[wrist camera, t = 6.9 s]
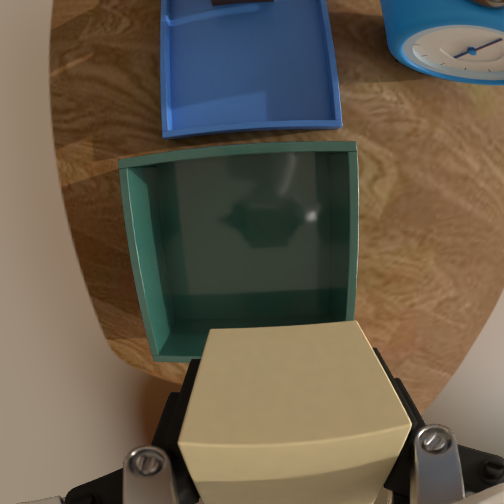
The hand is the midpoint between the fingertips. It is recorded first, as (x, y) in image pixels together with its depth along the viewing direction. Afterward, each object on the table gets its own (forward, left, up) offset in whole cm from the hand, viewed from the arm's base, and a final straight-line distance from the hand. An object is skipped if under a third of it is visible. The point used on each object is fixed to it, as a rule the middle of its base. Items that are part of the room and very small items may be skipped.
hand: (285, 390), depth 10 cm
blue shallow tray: (-20, -1, -15) cm, 25 cm away
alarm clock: (-19, +15, -15) cm, 29 cm away
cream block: (0, 0, -1) cm, 1 cm away
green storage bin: (-2, -2, -15) cm, 15 cm away
